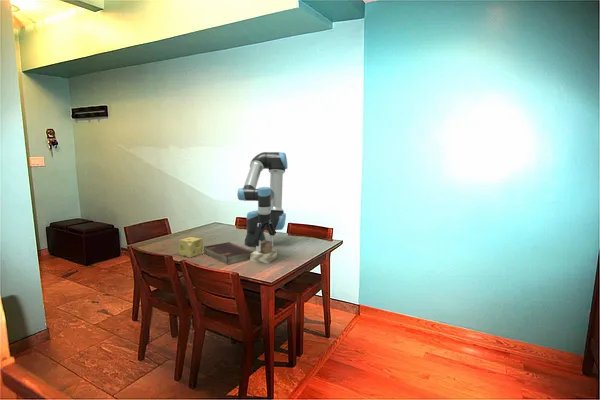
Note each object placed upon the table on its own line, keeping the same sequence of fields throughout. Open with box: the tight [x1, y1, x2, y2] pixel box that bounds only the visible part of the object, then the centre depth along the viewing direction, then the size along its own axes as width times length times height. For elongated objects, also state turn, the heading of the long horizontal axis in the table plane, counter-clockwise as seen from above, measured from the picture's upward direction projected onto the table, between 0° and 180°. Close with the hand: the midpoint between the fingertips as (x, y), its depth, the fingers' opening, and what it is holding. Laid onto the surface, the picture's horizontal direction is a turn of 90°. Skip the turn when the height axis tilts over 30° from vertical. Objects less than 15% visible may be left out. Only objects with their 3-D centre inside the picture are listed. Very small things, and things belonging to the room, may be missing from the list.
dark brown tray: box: [203, 242, 255, 265], centre depth 218 cm, size 29×19×5 cm, turn 42°
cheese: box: [178, 236, 204, 259], centre depth 219 cm, size 10×11×10 cm
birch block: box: [249, 249, 278, 264], centre depth 211 cm, size 12×12×5 cm
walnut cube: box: [258, 240, 273, 254], centre depth 210 cm, size 6×6×6 cm
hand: (264, 248), depth 210 cm, fingers open, 13 cm apart
